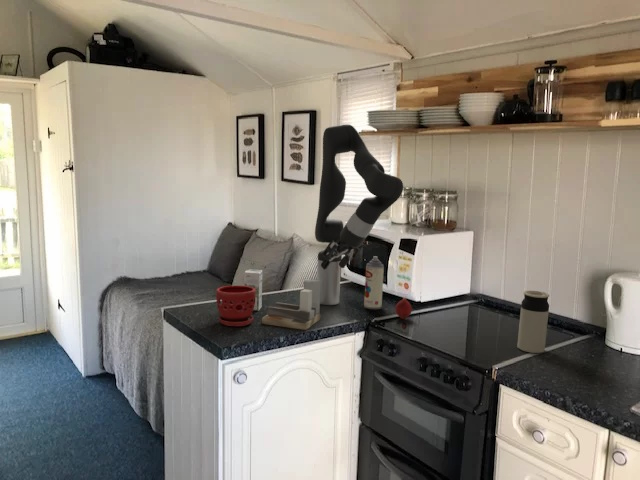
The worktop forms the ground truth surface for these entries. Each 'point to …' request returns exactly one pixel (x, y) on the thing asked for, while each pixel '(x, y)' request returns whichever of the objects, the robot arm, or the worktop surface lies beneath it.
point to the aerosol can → (374, 284)
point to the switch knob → (306, 302)
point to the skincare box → (314, 292)
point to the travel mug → (533, 322)
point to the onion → (403, 308)
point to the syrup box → (255, 285)
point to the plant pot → (236, 304)
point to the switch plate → (290, 316)
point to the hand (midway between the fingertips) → (332, 267)
